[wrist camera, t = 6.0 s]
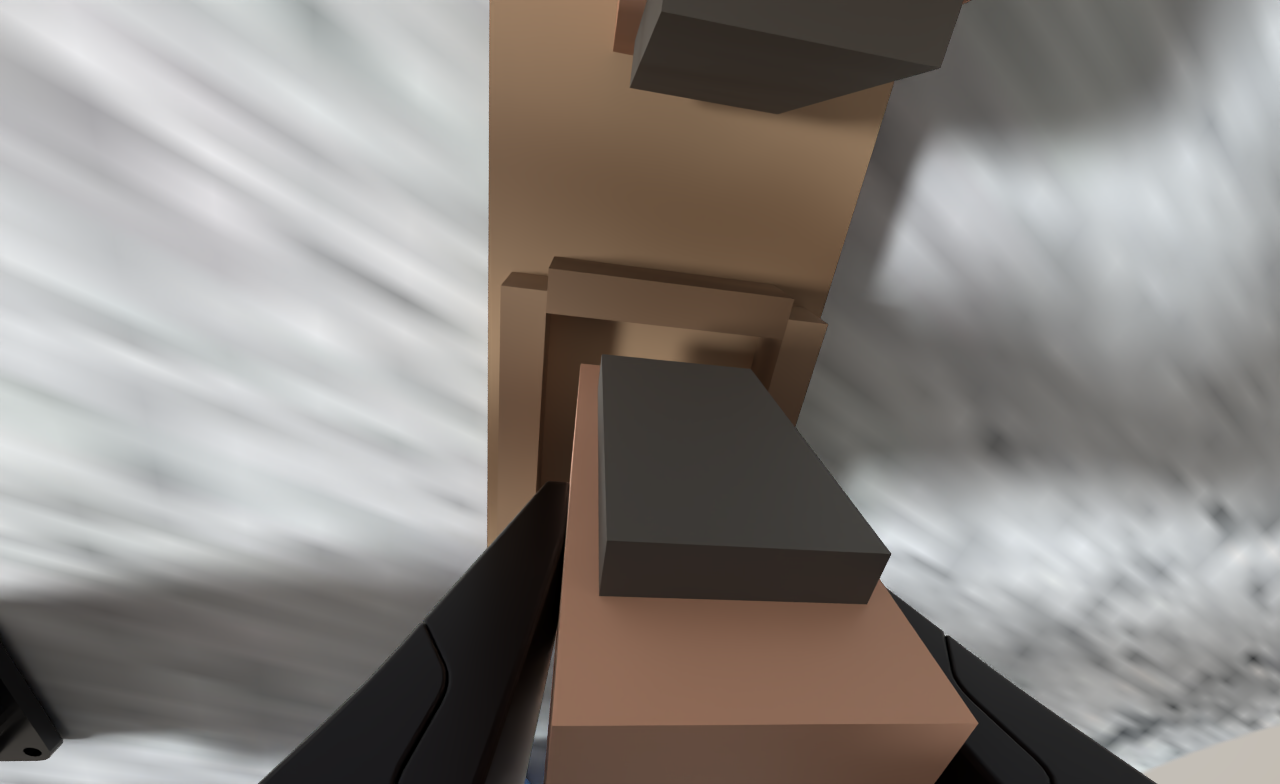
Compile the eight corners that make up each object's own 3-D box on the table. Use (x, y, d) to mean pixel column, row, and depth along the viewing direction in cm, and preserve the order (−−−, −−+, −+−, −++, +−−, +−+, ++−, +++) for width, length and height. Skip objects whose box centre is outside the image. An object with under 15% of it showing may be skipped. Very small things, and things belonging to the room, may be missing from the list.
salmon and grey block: (700, 543, 10) (814, 949, 5) (564, 536, 10) (527, 971, 5) (750, 348, 8) (1018, 668, 3) (583, 331, 8) (559, 662, 3)
